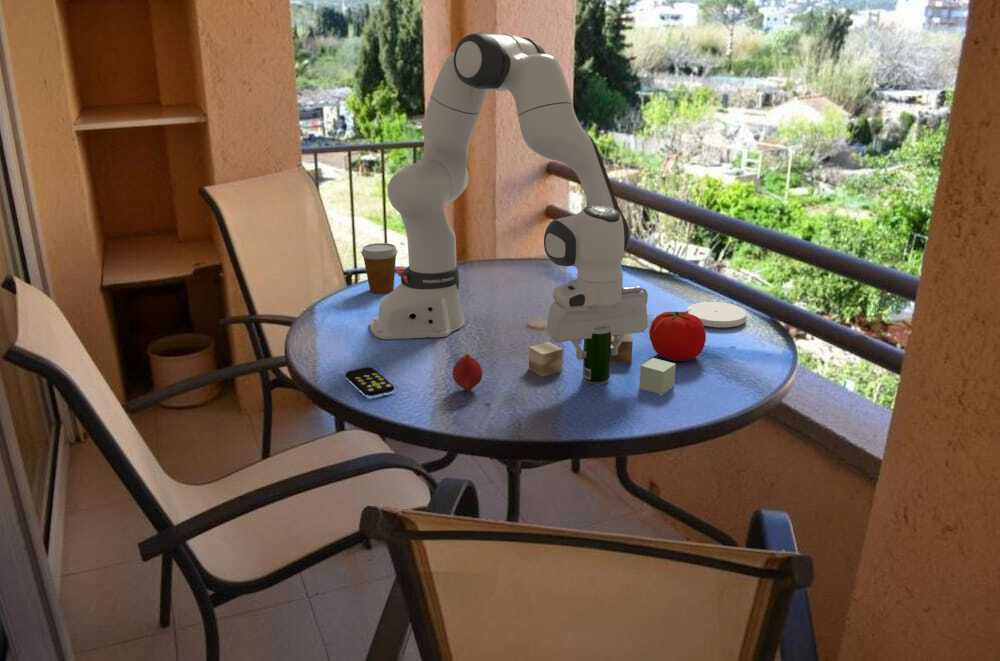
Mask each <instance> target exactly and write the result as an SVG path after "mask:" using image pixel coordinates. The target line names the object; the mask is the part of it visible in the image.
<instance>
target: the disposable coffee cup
mask: <svg viewBox="0 0 1000 661" xmlns="http://www.w3.org/2000/svg"><path fill="white" fill-rule="evenodd" d="M360 253H361V255H362V257H363V262H364V267H365V273H366V277H367V282H368V288H369V292H370V293H372V294H374V295H375V294H376V295H385V294H386V295H387V294H389V293H391V292H392V291H393V290H394V289H395V275H396V274H395V273H396V272H395V271H396V261H397V259H396V258H397V255H398V249H397V247H396V245H395V244H393V243H387V242H378V243H369V244H365V245H364V246H363V247H362V251H361V252H360Z"/></svg>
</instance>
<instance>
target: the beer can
mask: <svg viewBox="0 0 1000 661" xmlns="http://www.w3.org/2000/svg"><path fill="white" fill-rule="evenodd" d="M609 328H610V326H608V327H605V328H604V327H600V328H594V331H593V333H592V338H590V339H583V348H584V350H586V351H587V353H586V359H582V361H583V362H582V377H583V378H582V379H583V380H584V382H586V383H587V384H589V385H593V384H594V385H595V386H599V385H600V384H601V385H604V384H607V383H608V381H609V380H610V377H611V376H610V375H611V363H610V357H611V330H610V329H609ZM601 385H600V386H601Z"/></svg>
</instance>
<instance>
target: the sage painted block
mask: <svg viewBox="0 0 1000 661" xmlns="http://www.w3.org/2000/svg"><path fill="white" fill-rule="evenodd" d="M676 366H677V365H676V363H674V362H670V361H667V360H662V359H658V358H655V357H652V358H650V359H648V360H647V361H646V362H644V363H643V364H640V368H639V371H640V373H639V386H638V388H640V390H642V389H644V390H643V391H646V390H648V391H647V392H649V391H651V392H650V393H653V392H655V393H654V394H656V393H659V394H658V395H660V394H663V393H664V394H666V393H667V392H668V391H667V390H669V389H670V388H671V387H673V386H674V387H675V380H676ZM674 387H673V388H674ZM671 389H672V388H671ZM671 389H670V390H671ZM670 390H669V391H670ZM666 391H667V392H666ZM665 392H666V393H665ZM664 394H663V395H664Z"/></svg>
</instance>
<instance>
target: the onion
mask: <svg viewBox="0 0 1000 661" xmlns="http://www.w3.org/2000/svg"><path fill="white" fill-rule="evenodd" d="M452 378H453V380H454V382H455V384H457V385H458V387H460V388H462V389H463V390H464V391H466V392H470V391H472V390H473V389H474V388H475V387H476V386H477V385H478V384H480V382H481V380H482V378H483V368H482V366H481V365H480V363H479V362H478V361H477V359H475V358H474V357H472V356H471V355H470V353H469V352H466V353H465V354H464V355H463V356H462V357H461V358H459V359H458V361H456V363H455V364H454V366H453V368H452Z"/></svg>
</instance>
